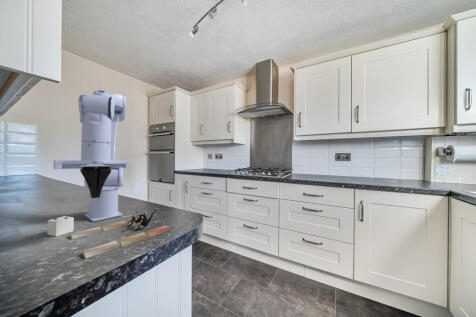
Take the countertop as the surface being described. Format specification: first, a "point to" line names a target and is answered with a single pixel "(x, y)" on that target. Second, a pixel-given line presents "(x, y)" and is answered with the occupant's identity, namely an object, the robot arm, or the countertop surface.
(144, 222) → the creature
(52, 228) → the white rectangular block
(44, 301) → the countertop surface
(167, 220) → the countertop surface
